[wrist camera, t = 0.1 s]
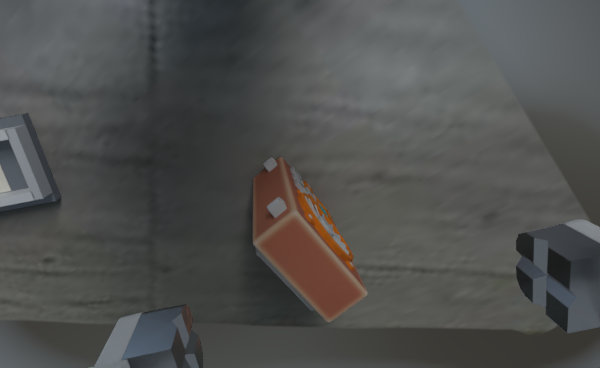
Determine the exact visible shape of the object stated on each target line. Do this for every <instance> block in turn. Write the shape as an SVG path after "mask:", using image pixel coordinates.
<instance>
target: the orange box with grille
mask: <svg viewBox="0 0 600 368" xmlns="http://www.w3.org/2000/svg"><path fill="white" fill-rule="evenodd" d="M263 165H264V167H265V169H264V170H263V171H262V172H261V173H259V174H258V175H257V176H255V177H254V178H253V245H254V246H255V247H256V255H257V256H259V257H260V258H261V259H262V260H263V261H264V262H265V263H266V264H267V265H268V266H269V267H270V268H271V269H272V270H273V271H274V273H275V274H276V275H277V276H278V277H279V278H280V279H281V280H282V281H283V282H284V283H285V284H286V285H287V286H288V287H289V288H290V289H291V290H292V291H293V292H294V293H295V294H296V295H297V297H298V298H299V299H300V300H301V301H302V302H303V303H304V304H305V305H306V306H307V307H308V309H309V310H310V311H312V312H313V311H314V310H316V311H317V312H318V313H319V314H320V315H321V316H322V317H323V319H324V320H325V321H326V322H328V323H330V322H331V321H333V320H334V319H336V318H337V317H338V316H340V315H341V314H342V313H344V312H345V311H347V310H348V309H349V308H351V307H352V306H353V305H355V304H356V303H358V302H359V301H360V300H362V299H363V298H364V297H366V296H367V295H368V293H367V290H366V288H365V286H364V284H363V282H362V280H361V278H360V276H359V274H358V272H357V270H356V267H355V265H354V263H353V261H352V260H353V255H352V252H351V250H350V249H349V247H348V245H347V244H346V242H345V240H344V239H343V237H342V236H341V235H340V233H339V232H338V230H337V228H336V226H335V224H334V221H333V219H332V217H331V215H330V214H329V213H328V210H327V209H326V208H325V207H324V206H323V204H322V203H321V202H320V201H319V200H318V198H317V197H316V196H315V195H314V194H313V191H312V189H311V187H310V186H309V185H308V184H307V183H306V181H302V180H301V176H300V174H299V173H298V172H297V171H296V169H295V168H294V167H291V168H290V166H289V165H288V164H287V163H286V162H285V160H284V159H283V158H282V157H279V158H278V159H277V160H275V159H273V158H272V157H271V158H270V159H268V160H267V161H266V162H265V163H263Z"/></svg>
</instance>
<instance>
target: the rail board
mask: <svg viewBox="0 0 600 368" xmlns="http://www.w3.org/2000/svg"><path fill="white" fill-rule="evenodd" d="M59 198H61V196H60V193H59V191H58V188H57V186H56V183H55V181H54V178H53V176H52V173H51V170H50V168H49V165H48V163H47V160H46V158H45V155H44V153H43V150H42V148H41V145H40V143H39V140H38V138H37V135H36V132H35V130H34V127H33V125H32V122H31V120H30V117H29V115H28V113H26V114H21V115H15V116H10V117H4V118H0V212H2V211H7V210H13V209H18V208H23V207H28V206H33V205H38V204H43V203H48V202H54V201H57V200H58V199H59Z"/></svg>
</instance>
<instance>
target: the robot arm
mask: <svg viewBox="0 0 600 368" xmlns="http://www.w3.org/2000/svg"><path fill="white" fill-rule="evenodd" d="M516 250H517V251H518V252H519V254H520V255H521V256H522V257H521V259H520V260H519V262H518V264H517V265H516V277H517V280H518V283H519V286H520V289H521V290H522V292H523V293H524V295H525V296H526V297H527V298H528V299H529V300H530V301H531V302H532V303H535V304H538V305H541V306H543V307H546V315H547V316H548V317H549V318H550V319H552V320H553V321H554V322H555V323H556V324H557V325H558V326H559V327H561V328H562V329H563V330H564V331H565V332H566V333H571V332H576V331H581V330H586V329H591V328H597V327H600V227H598V226H596V225H594V224H592V223H590V222H588V221H586V220H574V221H570V222H566V223H562V224H558V225H554V226H550V227H546V228H542V229H538V230H534V231H529V232H525V233H521V234H519V235H518V238H517V240H516ZM192 323H193V317H192V314H191V311H190V308H189V307H188V306H187V305H186V304H184V305H179V306H174V307H169V308H163V309H158V310H153V311H148V312H144V313H142V312H141V313H137V314H133V315H128V316H124V317H122V318H120V319H119V320H118V322H117V324H116V325H115V327H114V329H113V331H112V333H111V335H110V337H109V339H108V341H107V343H106V345H105V347H104V349H103V351H102V352H101V354H100V356H99V358H98V360H97V362H96V364H95V366H94V367H90V368H203V352H202V347H201V342H200V339H199V336H198V334H196V333H195V332H194V331H192V330H191V328H192Z"/></svg>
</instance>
